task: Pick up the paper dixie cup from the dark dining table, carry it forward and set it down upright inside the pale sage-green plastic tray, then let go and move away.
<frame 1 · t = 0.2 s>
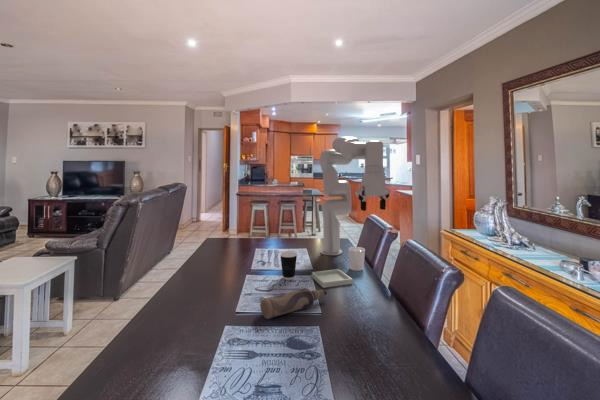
hand: (373, 209, 128), 31 cm above the table, tool pointing down, fingers open, 9 cm apart
white cup: (356, 269, 145), on the table
tray: (331, 280, 130), on the table
decorative bottle: (296, 311, 102), on the table
dixie cup: (288, 278, 133), on the table
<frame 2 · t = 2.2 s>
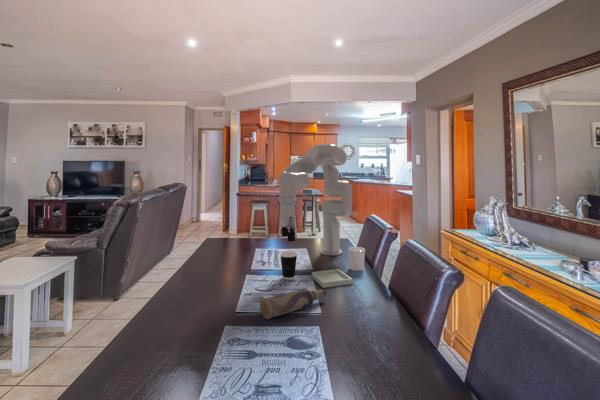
hand: (288, 238, 131), 18 cm above the table, tool pointing down, fingers open, 9 cm apart
nothing on the table moved.
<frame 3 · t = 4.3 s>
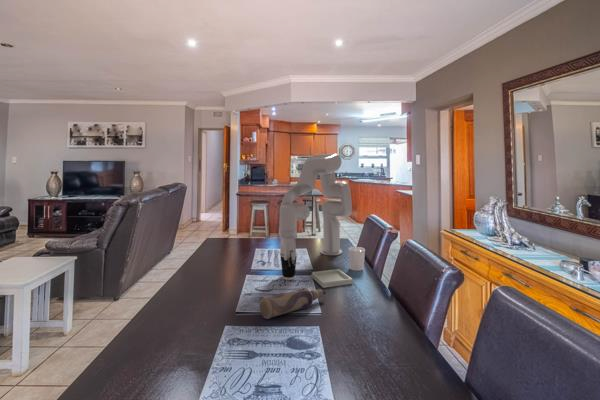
hand: (288, 271, 133), 3 cm above the table, tool pointing down, fingers closed on dixie cup, 8 cm apart
dixie cup: (288, 278, 133), on the table, touching gripper
everything else where it was.
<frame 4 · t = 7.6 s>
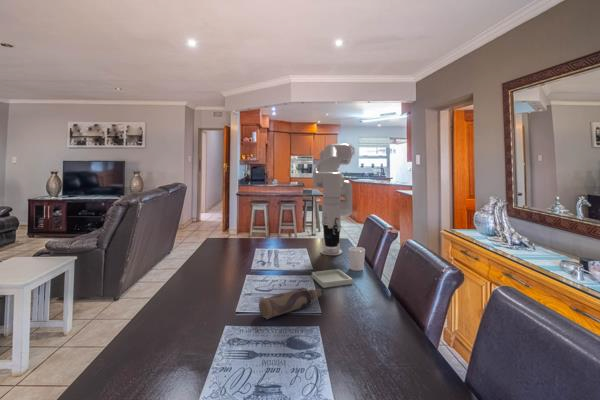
hand: (331, 241, 128), 18 cm above the table, tool pointing down, fingers closed on dixie cup, 8 cm apart
dixie cup: (331, 248, 129), point 14 cm above the table, touching gripper
everything else where it was.
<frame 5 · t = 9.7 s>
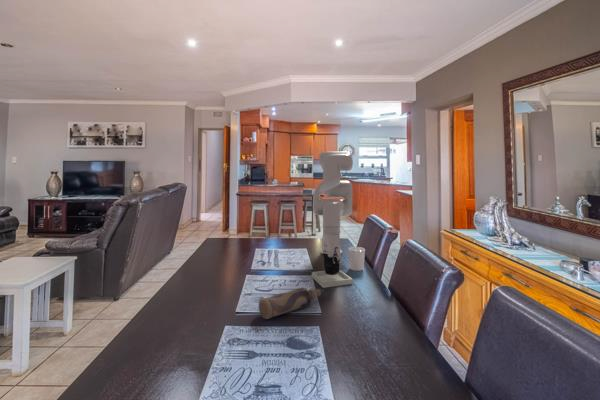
hand: (331, 268, 130), 5 cm above the table, tool pointing down, fingers closed on dixie cup, 8 cm apart
dixie cup: (331, 275, 130), point 2 cm above the table, touching gripper
everything else where it was.
when the fingers open (5 cm above the table, at t = 10.8 s): dixie cup drops 1 cm, resting on tray.
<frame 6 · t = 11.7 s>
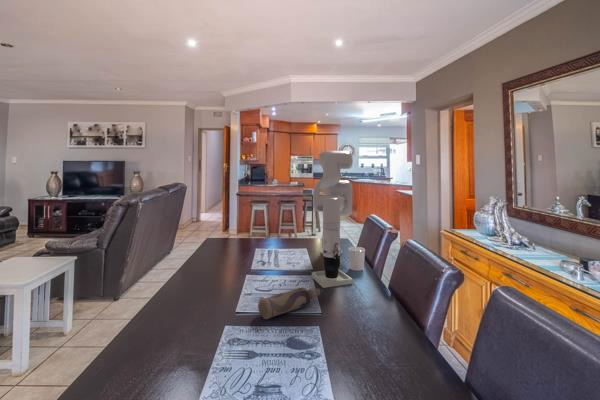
hand: (331, 263, 130), 7 cm above the table, tool pointing down, fingers open, 9 cm apart
dixie cup: (331, 279, 130), resting on tray, touching gripper
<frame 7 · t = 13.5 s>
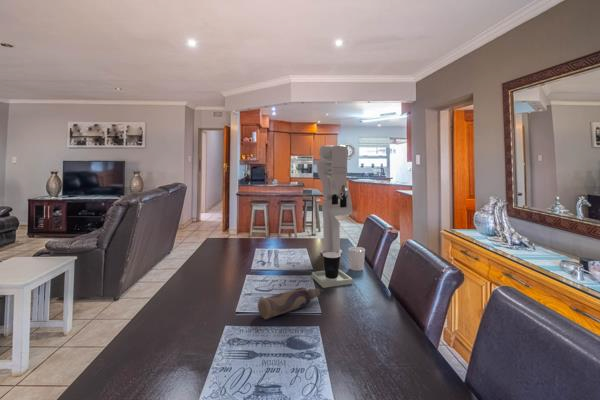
hand: (338, 205, 145), 31 cm above the table, tool pointing down, fingers open, 9 cm apart
dixie cup: (331, 279, 130), resting on tray
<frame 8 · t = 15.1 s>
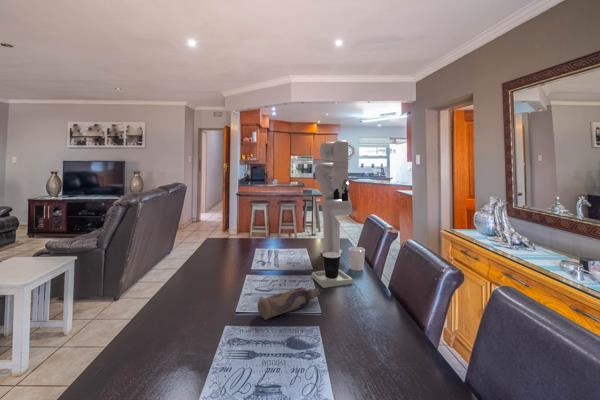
hand: (340, 200, 148), 33 cm above the table, tool pointing down, fingers open, 9 cm apart
at the end: dixie cup 0.1 cm from the tray (horizontally); dixie cup tilted 0°; dixie cup resting on tray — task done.
